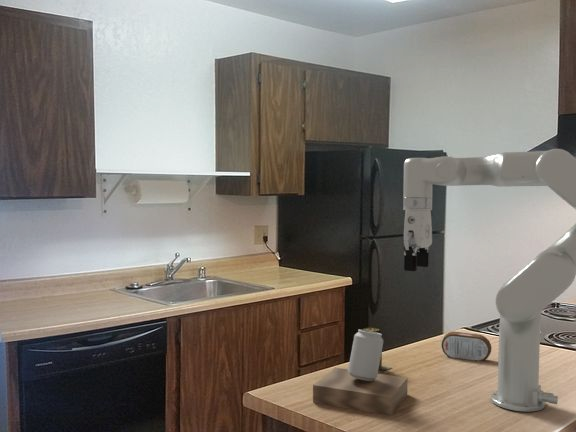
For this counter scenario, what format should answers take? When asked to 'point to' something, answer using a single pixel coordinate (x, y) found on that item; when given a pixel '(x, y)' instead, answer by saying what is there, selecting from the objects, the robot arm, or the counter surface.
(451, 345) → the tin
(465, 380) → the counter surface
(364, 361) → the can
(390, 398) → the chopping block
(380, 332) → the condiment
